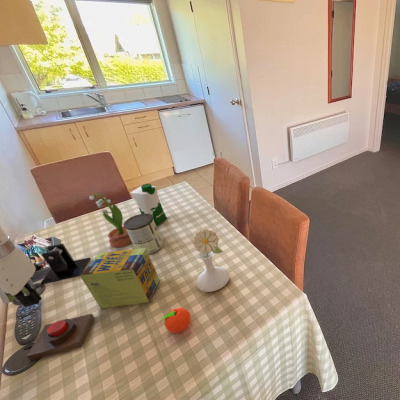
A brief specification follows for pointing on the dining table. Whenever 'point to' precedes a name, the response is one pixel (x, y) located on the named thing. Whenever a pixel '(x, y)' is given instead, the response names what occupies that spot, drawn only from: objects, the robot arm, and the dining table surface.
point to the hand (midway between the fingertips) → (33, 302)
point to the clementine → (177, 320)
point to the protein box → (121, 278)
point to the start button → (57, 328)
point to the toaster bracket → (62, 264)
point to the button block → (62, 338)
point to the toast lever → (39, 265)
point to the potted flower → (114, 223)
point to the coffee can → (143, 232)
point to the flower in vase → (209, 262)
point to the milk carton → (149, 202)
